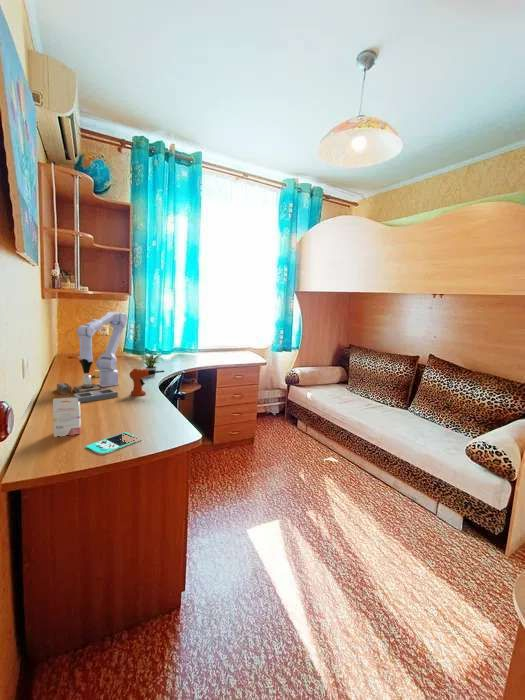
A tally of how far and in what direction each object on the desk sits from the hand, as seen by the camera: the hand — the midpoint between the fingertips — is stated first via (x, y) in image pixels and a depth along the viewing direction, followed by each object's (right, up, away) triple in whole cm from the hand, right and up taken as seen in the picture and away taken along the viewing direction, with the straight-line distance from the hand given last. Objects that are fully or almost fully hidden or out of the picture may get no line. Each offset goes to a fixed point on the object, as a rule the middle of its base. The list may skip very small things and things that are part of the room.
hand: (86, 373), depth 171 cm
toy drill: (+31, -12, +3) cm, 34 cm away
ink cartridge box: (+20, -20, -50) cm, 57 cm away
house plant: (+21, -6, +42) cm, 47 cm away
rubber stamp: (-9, -5, +36) cm, 37 cm away
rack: (+9, -12, -7) cm, 17 cm away
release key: (-12, -8, 0) cm, 15 cm away
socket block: (0, -10, +2) cm, 10 cm away
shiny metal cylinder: (0, -10, +2) cm, 10 cm away
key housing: (-11, -10, -1) cm, 15 cm away
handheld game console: (+41, -22, -55) cm, 72 cm away
